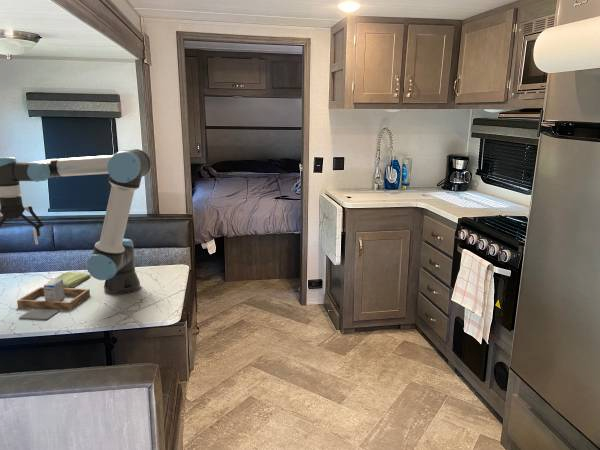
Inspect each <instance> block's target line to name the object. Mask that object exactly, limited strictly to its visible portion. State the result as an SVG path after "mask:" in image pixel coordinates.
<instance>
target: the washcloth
mask: <svg viewBox="0 0 600 450" xmlns="http://www.w3.org/2000/svg"><path fill="white" fill-rule="evenodd" d="M91 277H92V276H91V275H90V273H84V272H83V273H82V272H78V271H77V272H72V271H67V272H65V273H62V274H60V275H58V276H56V277H55V278H54V279H63V287H64V288H74V289H75V287H77V286H79V285H80V284H81V283H83V282H84V281H86V280H87V279H89V278H91Z"/></svg>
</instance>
